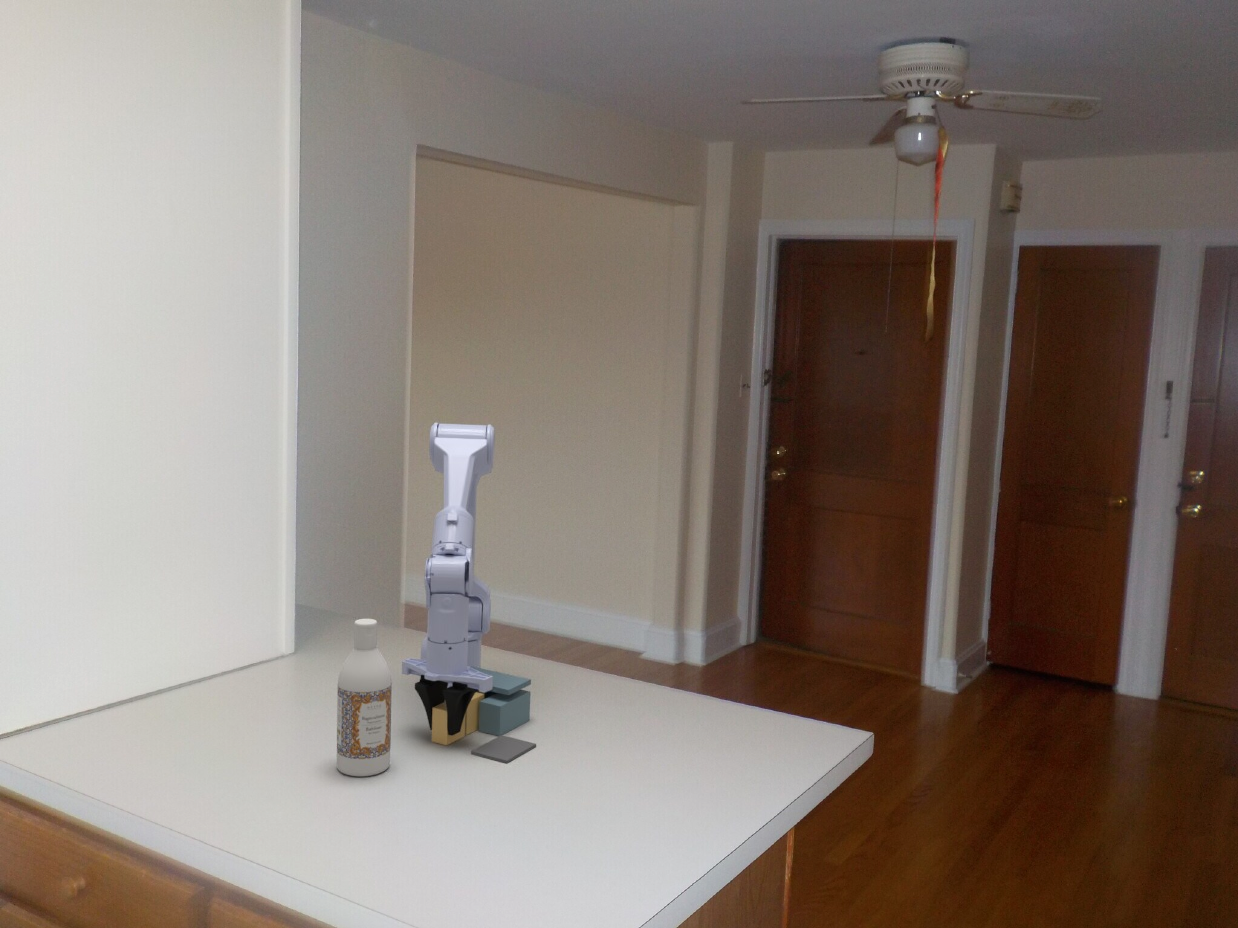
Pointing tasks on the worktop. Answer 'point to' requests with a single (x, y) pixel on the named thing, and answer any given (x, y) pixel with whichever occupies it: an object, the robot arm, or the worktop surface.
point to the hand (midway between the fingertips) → (445, 730)
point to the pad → (503, 749)
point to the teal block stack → (504, 703)
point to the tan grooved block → (467, 726)
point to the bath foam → (364, 706)
